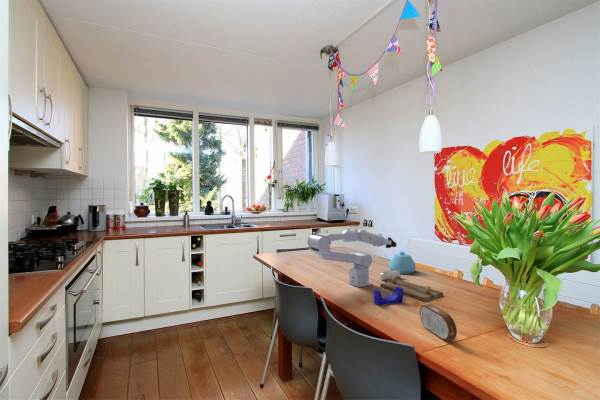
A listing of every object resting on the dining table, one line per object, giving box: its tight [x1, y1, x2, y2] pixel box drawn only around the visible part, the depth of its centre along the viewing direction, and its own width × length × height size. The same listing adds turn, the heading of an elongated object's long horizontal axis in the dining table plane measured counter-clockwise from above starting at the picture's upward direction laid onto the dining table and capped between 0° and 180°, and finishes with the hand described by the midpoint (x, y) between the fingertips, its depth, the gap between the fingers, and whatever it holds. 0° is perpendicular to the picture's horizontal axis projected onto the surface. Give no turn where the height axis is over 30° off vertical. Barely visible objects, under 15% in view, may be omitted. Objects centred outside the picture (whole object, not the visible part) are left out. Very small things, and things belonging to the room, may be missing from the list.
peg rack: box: [379, 276, 444, 303], centre depth 141 cm, size 14×24×4 cm, turn 32°
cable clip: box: [373, 287, 404, 306], centre depth 127 cm, size 12×4×6 cm, turn 106°
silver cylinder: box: [379, 270, 401, 282], centre depth 162 cm, size 14×4×4 cm, turn 122°
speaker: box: [419, 303, 458, 341], centre depth 98 cm, size 15×3×8 cm, turn 13°
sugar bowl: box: [388, 250, 417, 275], centre depth 179 cm, size 15×15×12 cm
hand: (390, 244), depth 164 cm, fingers open, 7 cm apart
